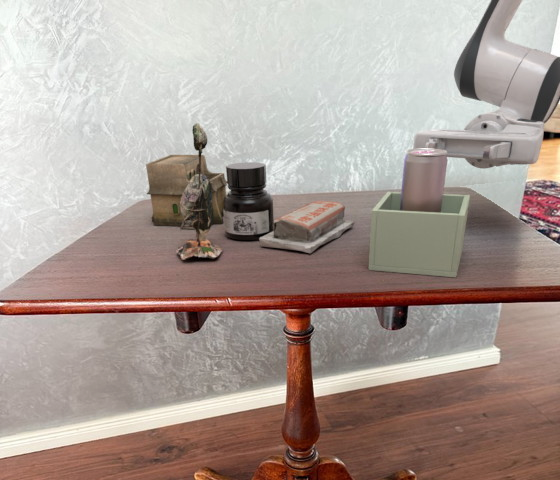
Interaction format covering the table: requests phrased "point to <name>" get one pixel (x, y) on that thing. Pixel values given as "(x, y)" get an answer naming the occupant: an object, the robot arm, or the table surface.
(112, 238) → the table surface
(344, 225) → the packaged product
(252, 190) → the ink bottle
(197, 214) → the plant with pod
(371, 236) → the waste bin
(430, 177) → the beverage can
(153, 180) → the miniature house
